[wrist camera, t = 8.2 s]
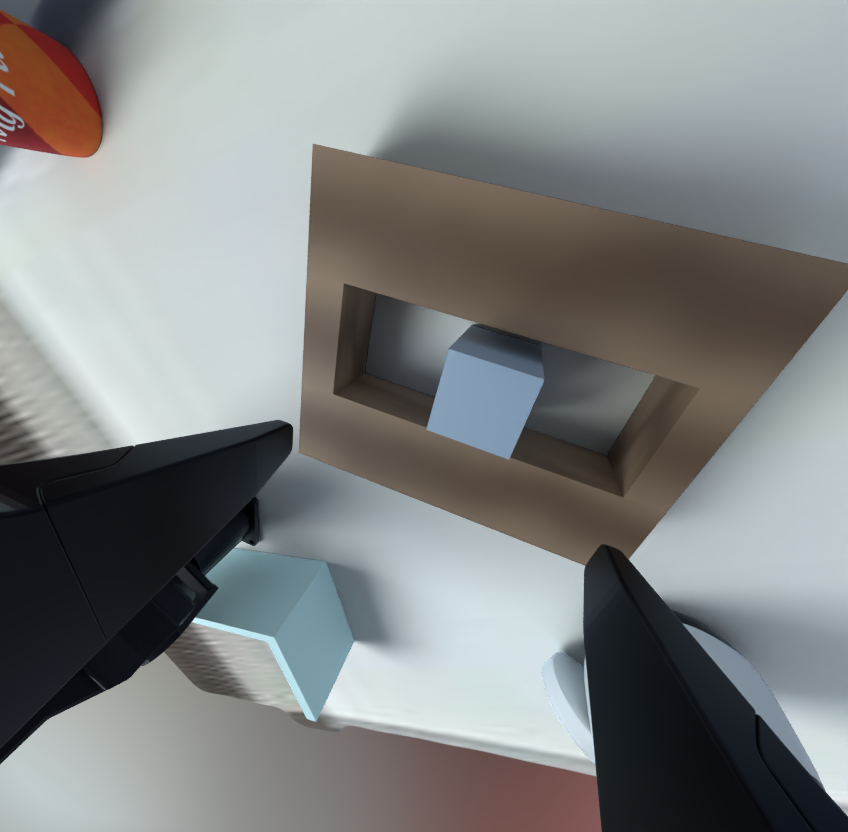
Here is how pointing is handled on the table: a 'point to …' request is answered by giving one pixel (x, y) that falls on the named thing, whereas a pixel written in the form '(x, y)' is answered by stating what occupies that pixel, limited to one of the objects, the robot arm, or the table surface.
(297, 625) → the right angle wall
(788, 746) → the spread jar
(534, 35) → the table surface
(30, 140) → the paper cup
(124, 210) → the table surface
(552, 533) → the well block
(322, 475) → the table surface
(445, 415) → the solid blue gray block
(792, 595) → the table surface
